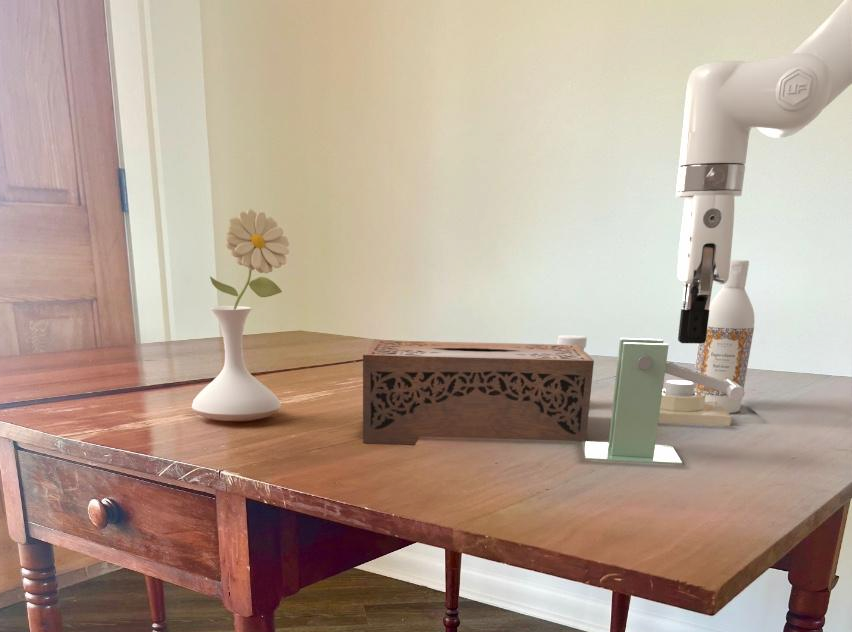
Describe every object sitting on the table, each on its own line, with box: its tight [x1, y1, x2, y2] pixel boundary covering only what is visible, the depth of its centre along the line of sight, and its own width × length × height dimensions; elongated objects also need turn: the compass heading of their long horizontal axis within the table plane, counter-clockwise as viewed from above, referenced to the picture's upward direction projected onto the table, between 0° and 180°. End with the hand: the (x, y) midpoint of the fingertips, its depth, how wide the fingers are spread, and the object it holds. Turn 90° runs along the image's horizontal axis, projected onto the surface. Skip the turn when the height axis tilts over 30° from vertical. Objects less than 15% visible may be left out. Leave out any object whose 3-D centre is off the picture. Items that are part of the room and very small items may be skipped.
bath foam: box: [693, 259, 755, 415], centre depth 120 cm, size 7×7×20 cm
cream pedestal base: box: [658, 388, 733, 427], centre depth 114 cm, size 12×10×4 cm
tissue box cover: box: [362, 339, 595, 446], centre depth 105 cm, size 26×14×10 cm, turn 86°
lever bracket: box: [581, 337, 684, 466], centre depth 92 cm, size 10×8×13 cm
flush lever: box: [665, 361, 746, 401], centre depth 90 cm, size 12×5×2 cm, turn 82°
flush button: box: [664, 379, 695, 396], centre depth 113 cm, size 4×4×2 cm
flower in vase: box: [191, 208, 290, 422], centre depth 108 cm, size 13×11×25 cm
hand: (691, 342), depth 111 cm, fingers closed
